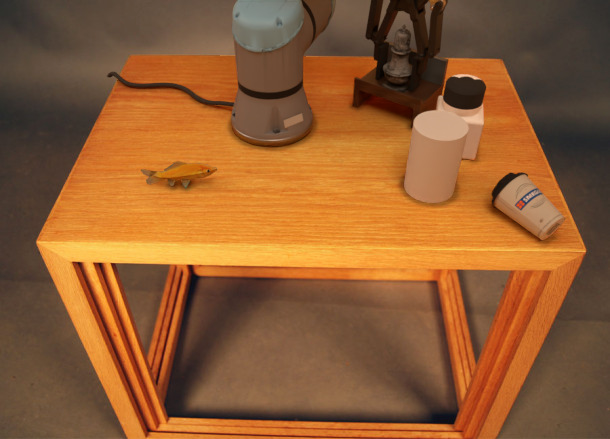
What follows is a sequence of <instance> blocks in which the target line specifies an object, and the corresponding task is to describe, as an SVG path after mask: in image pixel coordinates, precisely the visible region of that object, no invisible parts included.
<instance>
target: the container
mask: <svg viewBox="0 0 610 439" xmlns="http://www.w3.org/2000/svg"><path fill="white" fill-rule="evenodd" d="M486 91H487V85H486V83H485V81H484V80H483V79H482V78H480V77H478V76H476V75H473V74H467V73H459V74H454V75H451V76H450V77H448V78H447V79H446V80H445V83H444V90H443V94H442V96H439V97H438V100H437V106H436V110H439V111H447V112H451V113H454V114H456V115H458V116H460V117H461V118H463V119H464V120H465V121H466V122H467V124H468V127H469V129H468V134H467V138H466V142H465V146H464V151H463V155H462V159H461V160H470V161H474V160H476V157H477V153H478V150H479V145H480V141H481V138H482V134H483V130H484V126H485V114H484V98H485V95H486Z"/></svg>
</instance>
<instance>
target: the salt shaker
mask: <svg viewBox="0 0 610 439" xmlns="http://www.w3.org/2000/svg"><path fill="white" fill-rule="evenodd" d="M401 27H402V28H399V29H397V30H396V31H395V33H394V41H393V43H394V46H393V47H392V48H391V50H392V51H393V54H392V60H391V62H388V63H386V64H385V65H384V66H383V71H384V74H385V77H386V79H387V80H386V81H384V82H383V86H385V87H388V88H390V89H393V90H396V91H399V92H402V93H403V92H407V91H408V90H409V86H410V83H409V82H408V81H409V80H410V78H411V72H412V65H411V64H409V63H408V58H409V53H410V52H411V48H412V47H410V46H411V39H412V33H411V31H410V30H408V29H407V26H406V24H403V25H402V26H401Z"/></svg>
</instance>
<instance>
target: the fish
mask: <svg viewBox="0 0 610 439" xmlns="http://www.w3.org/2000/svg"><path fill="white" fill-rule="evenodd" d="M140 171H141V173H142V175H145V176H146V177H147V179H146V180H145V181H146V184H148V185H152V184H156V183H159V182H162V181H164V180H167V182H168V185H169V186H171V187H173V186H174V185H175V182H176V181H178V180H181V181H180V182H181V185H182V187H184V188H185V189H187V187H188V186H189V185H190V182H191V181H192V180H199V179H204V178H207V177H209V176H212V175H213V174H214V173H216V172H217V171H218V168H217V167H216V166H213V165H210V164H206V163H202V162H192V163H191V162H190V163H187V162H183V161H179V160H177V161H175V162H172V164H170V165H169V166H168V167H166V168H164V170H163V171H158V170H152V169H144V168H142V169H140Z"/></svg>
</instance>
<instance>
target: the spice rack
mask: <svg viewBox="0 0 610 439" xmlns="http://www.w3.org/2000/svg"><path fill="white" fill-rule="evenodd" d="M385 42H389V50H388V59H387V63H388V62H391V60H392V54H393V51H392V50H391V48H392V47H393V46H394V42H392V41H388V40H385V41H384V43H385ZM410 48H411V52H410V53H409V58H408V63H409V64H411V65H413V58H414V57H415V56H416V55H417V54H418V53H417V49H416V48H412V47H410ZM448 65H449V59H448V58H445V57H443V56H442V57H441V56H439V55H436V56H435V57H434V58H428V62H427V69H426V71H425V72H424V73H423V74H422V75H421V77H420V84H419V86H418V87H417V88H416V89H415V90H414V91H413V92H412V91H409V90H408V91H407V92H403V93H402V92H399V91H396V90H393V89H390V88H388V87H385V86H383V82H384V81H386V80H387V79H386V77H385V76H383V77H382V78H381V79H380V80H376V79H375V77H376V67H377V65H376V66H375V67H374V68H372V69H371V70H369V71H368V72H367V73H366V74H365V75H363V76H362V77H357V76H355V77H354V79H353V94H352V107H353V108H356V109H359V108H360V107H361V106H362V105H363V104H364V103H366V102H367V101H368V100H370V98H372V97H373V96H375V97H378V98H381V99H383V100H386V101H390V102H391V103H392V102H393V103H394V104H395V103H396V104H398V105H401V106H403V107H406V108H410V109H412V115H411V116H412V117H411V124H410V128H411V129H413V122H414V119H415V118H416V116H418V115H419V114H421V113H423V112H426V111H433V110H436V106H437V100H438V97H439V96H443V93H444V90H443V89H444V87H445V82H446V75H447V70H448ZM410 79H411V78H410ZM408 82H409V83H410V80H409V81H408Z"/></svg>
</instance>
